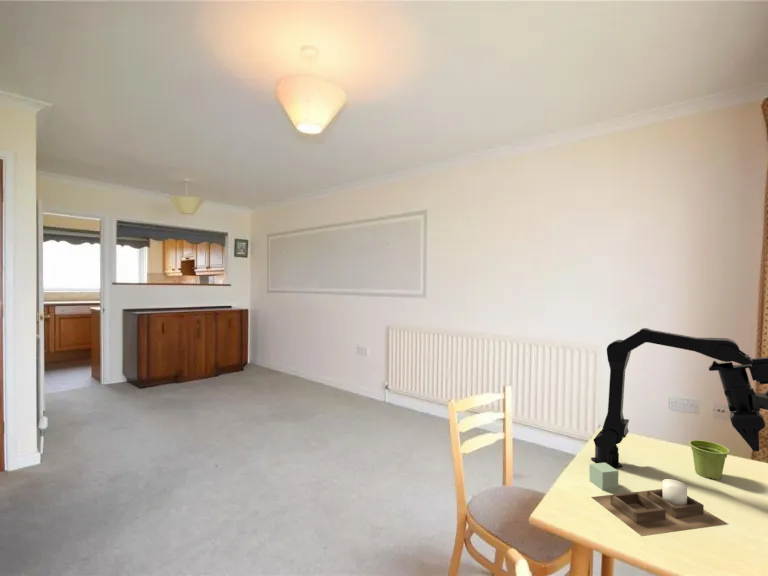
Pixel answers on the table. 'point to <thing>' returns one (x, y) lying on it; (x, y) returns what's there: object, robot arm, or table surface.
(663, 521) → the socket board
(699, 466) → the plant pot
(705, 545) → the table surface
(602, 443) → the robot arm
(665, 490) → the cream cylinder
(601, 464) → the sage block
